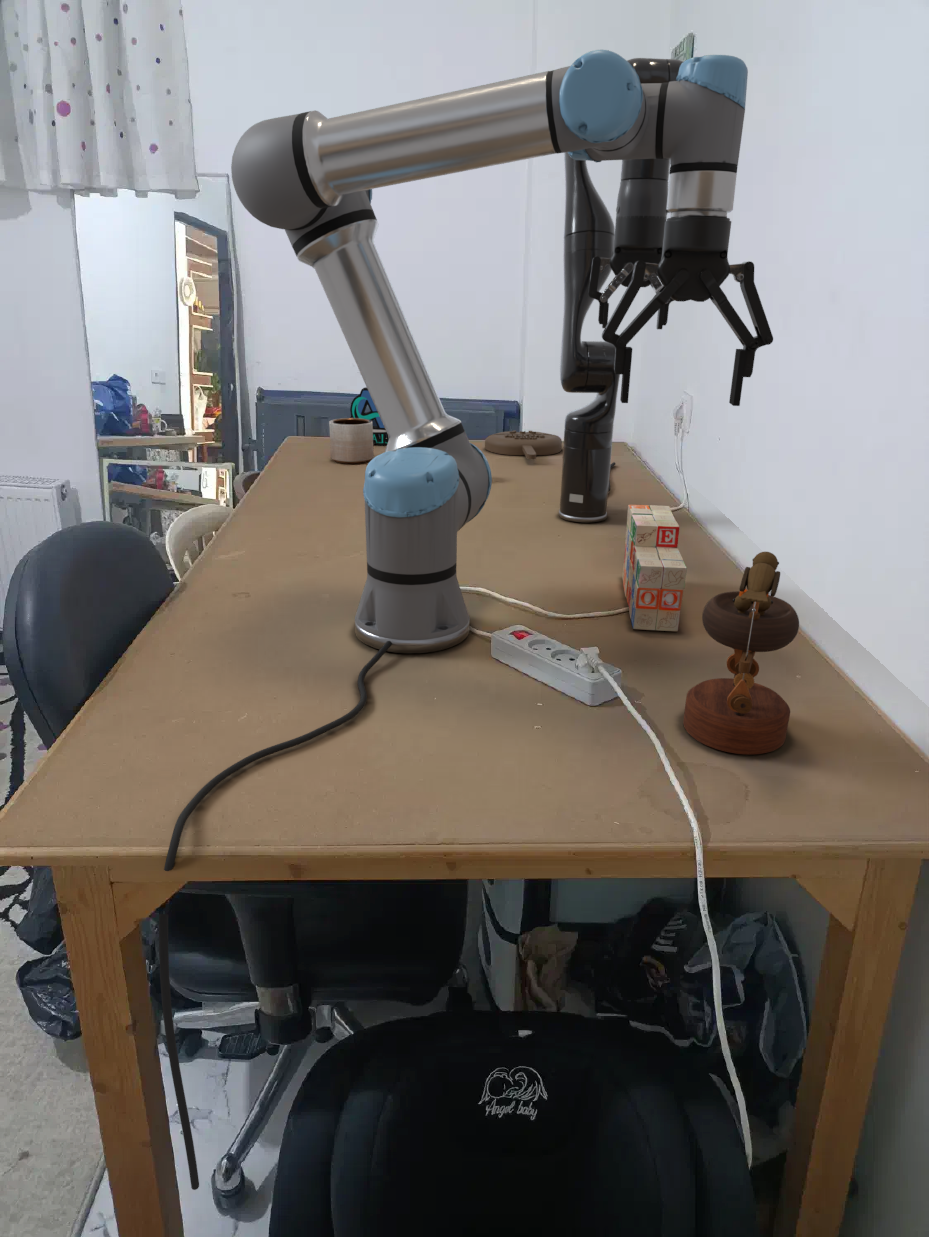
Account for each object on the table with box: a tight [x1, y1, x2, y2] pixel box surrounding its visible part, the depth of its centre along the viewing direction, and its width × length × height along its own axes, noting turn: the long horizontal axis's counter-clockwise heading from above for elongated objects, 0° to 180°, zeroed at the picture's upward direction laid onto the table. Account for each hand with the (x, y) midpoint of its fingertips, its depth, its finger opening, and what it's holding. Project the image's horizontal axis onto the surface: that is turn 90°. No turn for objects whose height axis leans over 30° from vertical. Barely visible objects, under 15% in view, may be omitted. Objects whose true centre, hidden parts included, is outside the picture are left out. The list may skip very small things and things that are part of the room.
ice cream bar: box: [484, 430, 563, 460], centre depth 224 cm, size 21×28×4 cm
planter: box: [328, 417, 375, 464], centre depth 212 cm, size 11×11×10 cm
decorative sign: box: [349, 386, 389, 446], centre depth 231 cm, size 19×2×15 cm, turn 86°
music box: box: [682, 551, 800, 755], centre depth 87 cm, size 15×11×20 cm
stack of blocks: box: [622, 504, 688, 632], centre depth 122 cm, size 21×6×12 cm, turn 174°
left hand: (678, 403), depth 106 cm, fingers open, 13 cm apart
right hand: (631, 328), depth 133 cm, fingers open, 8 cm apart
